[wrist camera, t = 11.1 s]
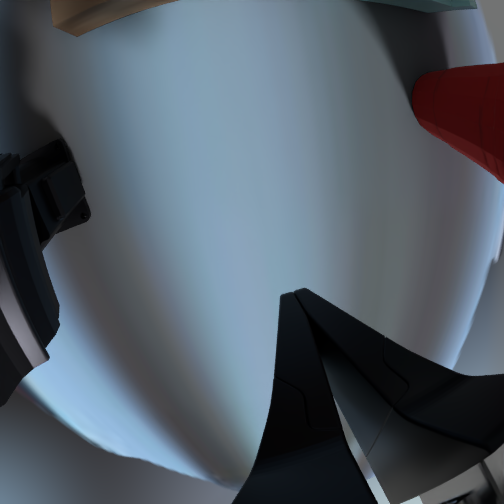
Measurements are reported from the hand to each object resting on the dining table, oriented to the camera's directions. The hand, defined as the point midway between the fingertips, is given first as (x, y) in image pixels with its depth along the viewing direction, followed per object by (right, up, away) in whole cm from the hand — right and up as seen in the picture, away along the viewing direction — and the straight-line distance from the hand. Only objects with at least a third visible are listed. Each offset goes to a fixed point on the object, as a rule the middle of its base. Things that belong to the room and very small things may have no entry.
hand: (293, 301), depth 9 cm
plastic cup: (+15, +15, +10) cm, 23 cm away
